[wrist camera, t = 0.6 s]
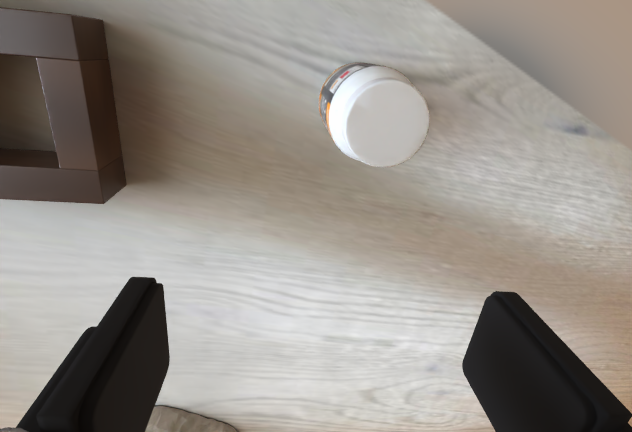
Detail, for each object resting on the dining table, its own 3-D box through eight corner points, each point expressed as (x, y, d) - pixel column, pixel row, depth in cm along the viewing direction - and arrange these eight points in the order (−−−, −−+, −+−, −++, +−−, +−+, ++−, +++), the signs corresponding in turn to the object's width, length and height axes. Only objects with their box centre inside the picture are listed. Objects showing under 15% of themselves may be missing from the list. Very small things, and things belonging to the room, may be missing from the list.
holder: (-93, 0, 23) (-163, -9, 20) (103, 19, 24) (71, 14, 21) (-34, 176, 28) (-81, 195, 24) (126, 185, 29) (103, 204, 26)
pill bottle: (302, 100, 28) (311, 124, 19) (358, 44, 26) (396, 41, 17) (350, 152, 30) (378, 196, 21) (404, 102, 28) (460, 127, 19)
